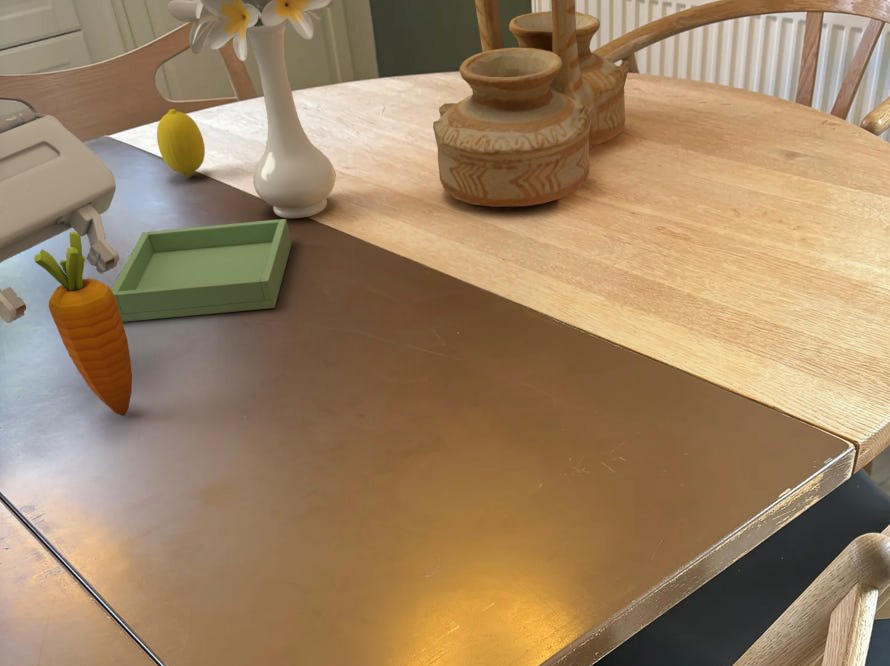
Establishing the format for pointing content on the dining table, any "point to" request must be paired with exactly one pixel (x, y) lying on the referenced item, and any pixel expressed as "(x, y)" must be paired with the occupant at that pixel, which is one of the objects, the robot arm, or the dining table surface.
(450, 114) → the ceramic vessel
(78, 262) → the carrot
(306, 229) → the dining table surface
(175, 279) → the green tray
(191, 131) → the lemon
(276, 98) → the flower vase
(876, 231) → the dining table surface
